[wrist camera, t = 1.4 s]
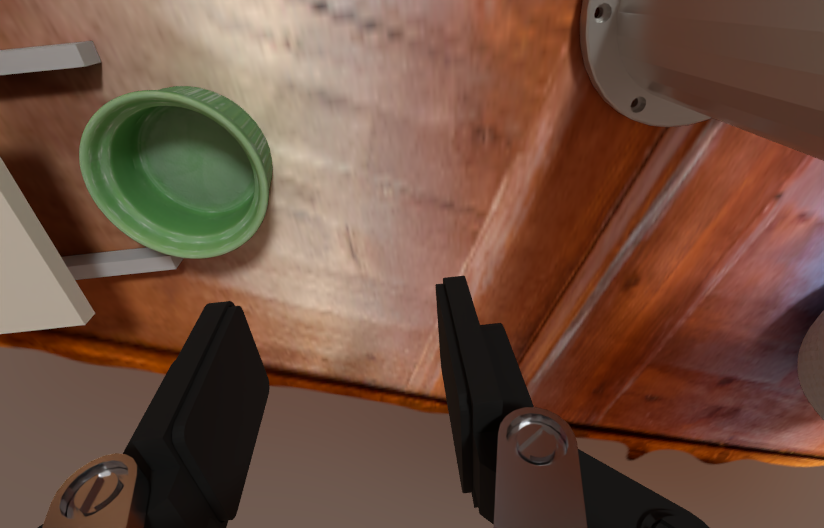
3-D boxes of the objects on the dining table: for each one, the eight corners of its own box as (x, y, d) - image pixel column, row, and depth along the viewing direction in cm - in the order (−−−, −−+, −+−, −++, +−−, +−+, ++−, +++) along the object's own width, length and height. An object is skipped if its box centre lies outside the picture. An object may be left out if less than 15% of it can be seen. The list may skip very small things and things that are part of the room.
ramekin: (272, 237, 29) (257, 273, 25) (124, 205, 27) (85, 240, 24) (293, 102, 25) (278, 122, 21) (118, 53, 23) (68, 65, 19)
